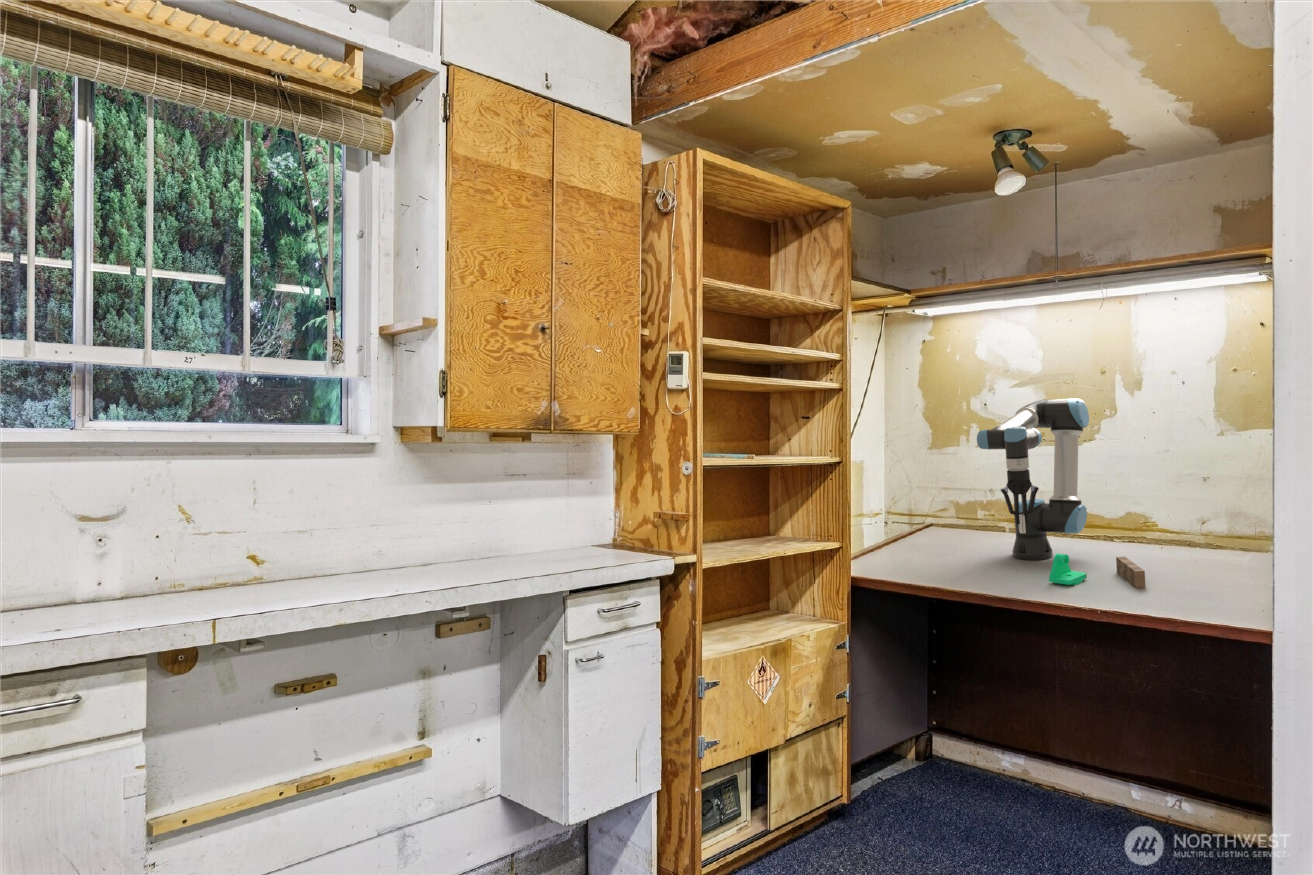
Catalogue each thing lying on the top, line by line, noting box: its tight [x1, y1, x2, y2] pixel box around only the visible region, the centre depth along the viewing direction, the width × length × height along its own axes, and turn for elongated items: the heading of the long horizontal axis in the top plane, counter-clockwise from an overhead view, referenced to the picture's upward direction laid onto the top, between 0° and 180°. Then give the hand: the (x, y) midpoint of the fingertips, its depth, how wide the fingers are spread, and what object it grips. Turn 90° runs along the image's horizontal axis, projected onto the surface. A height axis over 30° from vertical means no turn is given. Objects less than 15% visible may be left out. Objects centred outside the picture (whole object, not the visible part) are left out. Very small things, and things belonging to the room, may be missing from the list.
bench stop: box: [1115, 556, 1146, 589], centre depth 298 cm, size 20×3×6 cm, turn 168°
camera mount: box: [1048, 553, 1087, 586], centre depth 303 cm, size 12×8×10 cm, turn 123°
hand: (1022, 532), depth 305 cm, fingers closed
